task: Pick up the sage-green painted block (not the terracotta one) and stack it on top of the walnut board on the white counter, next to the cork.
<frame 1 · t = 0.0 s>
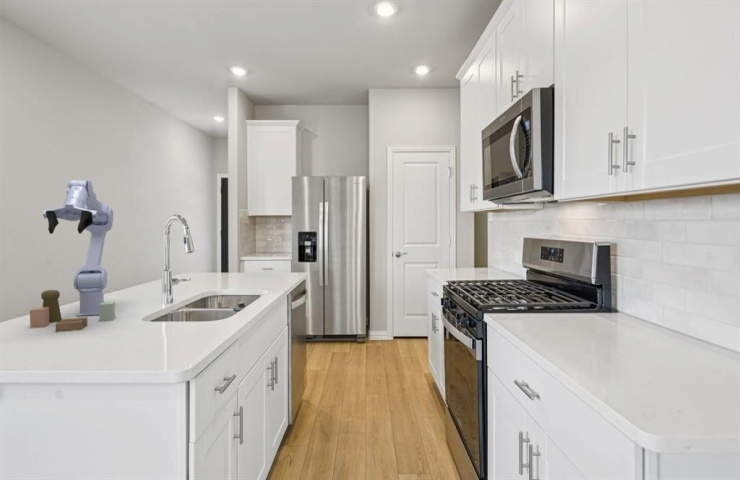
hand: (65, 231, 130), 32 cm above the worktop, tool tilted 50°, fingers open, 7 cm apart
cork: (51, 321, 145), on the worktop
walnut board: (72, 329, 136), on the worktop
sage block: (107, 319, 148), on the worktop
terracotta block: (40, 326, 138), on the worktop
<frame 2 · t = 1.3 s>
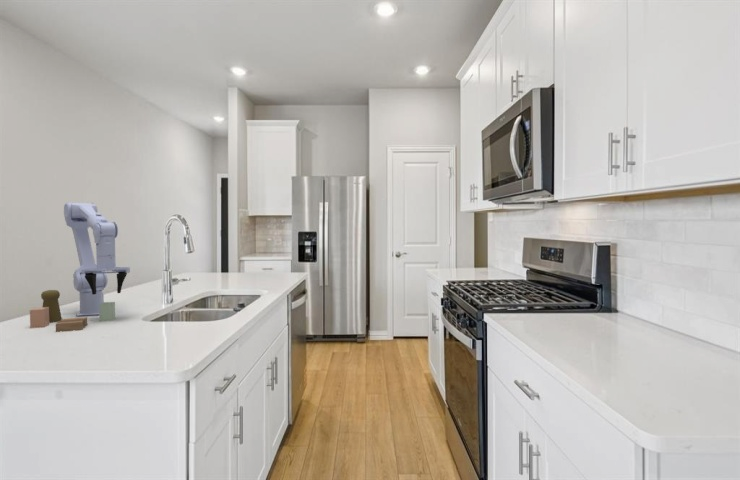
hand: (106, 293, 147), 10 cm above the worktop, tool pointing down, fingers open, 7 cm apart
nothing on the worktop moved.
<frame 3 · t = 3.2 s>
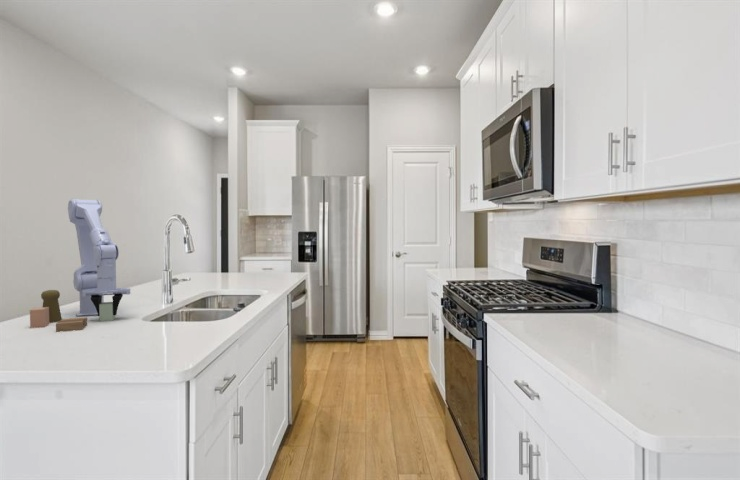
hand: (107, 315, 148), 2 cm above the worktop, tool pointing down, fingers closed on sage block, 4 cm apart
sage block: (107, 319, 148), on the worktop, touching gripper
everything else where it was.
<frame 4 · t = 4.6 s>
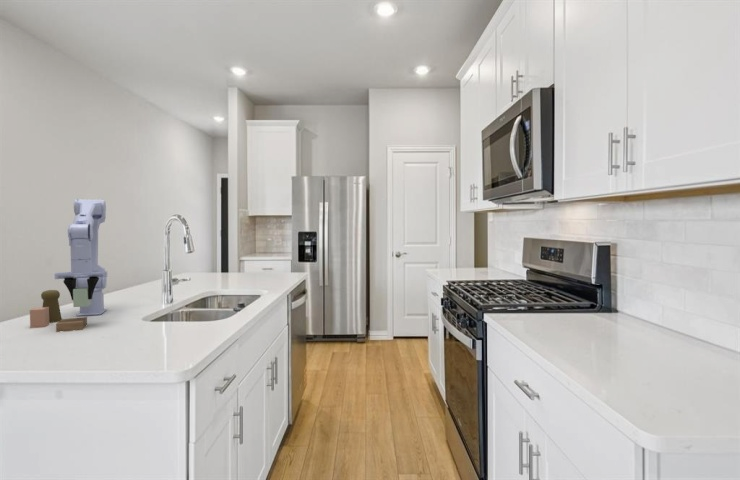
hand: (82, 299, 138), 9 cm above the worktop, tool pointing down, fingers closed on sage block, 4 cm apart
sage block: (82, 305, 138), point 7 cm above the worktop, touching gripper
everything else where it was.
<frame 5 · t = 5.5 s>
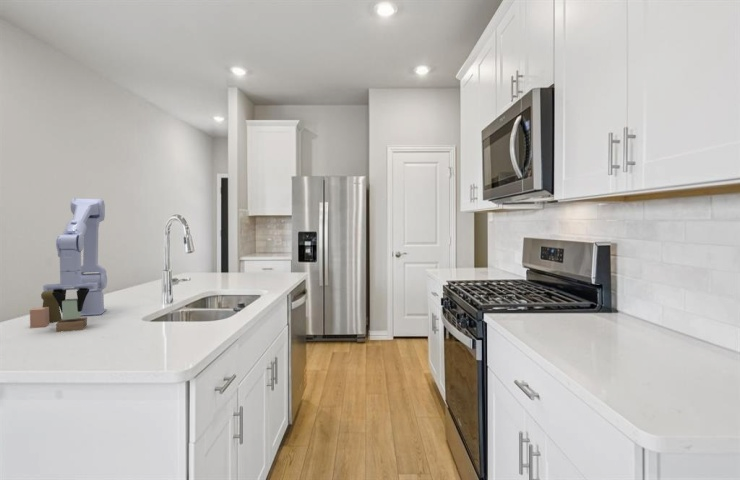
hand: (71, 311, 135), 6 cm above the worktop, tool pointing down, fingers closed on sage block, 4 cm apart
sage block: (71, 317, 135), point 4 cm above the worktop, touching gripper
everything else where it was.
when the fingers open (5 cm above the worktop, at t = 6.3 s): sage block stays where it is, resting on walnut board.
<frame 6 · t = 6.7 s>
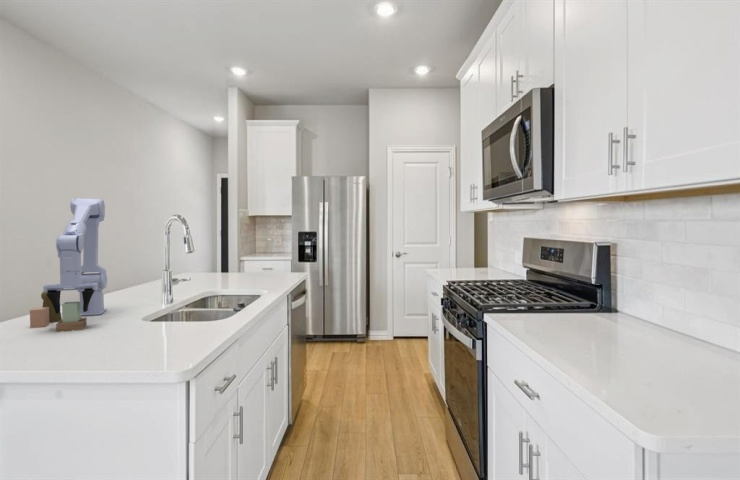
hand: (71, 312, 135), 5 cm above the worktop, tool pointing down, fingers open, 7 cm apart
walnut board: (72, 329, 136), on the worktop, touching sage block
sage block: (71, 320, 135), point 3 cm above the worktop, touching walnut board
everything else where it was.
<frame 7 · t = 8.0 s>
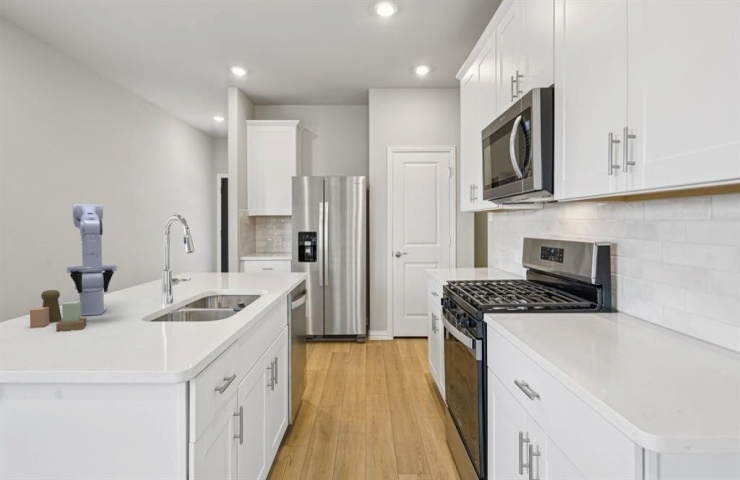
hand: (93, 292, 145), 10 cm above the worktop, tool pointing down, fingers open, 7 cm apart
nothing on the worktop moved.
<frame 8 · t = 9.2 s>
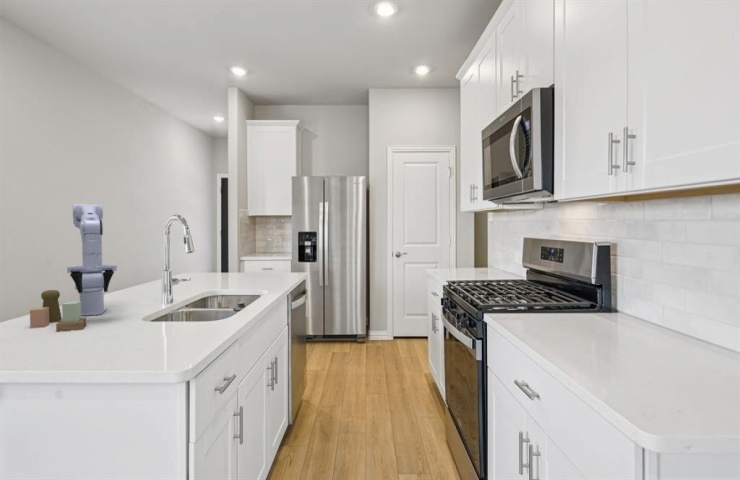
hand: (93, 292, 145), 10 cm above the worktop, tool pointing down, fingers open, 7 cm apart
nothing on the worktop moved.
at the end: sage block 0.3 cm off-centre on the walnut board, point 3.0 cm above the walnut board's base; sage block tilted 0°; the gripper is holding nothing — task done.
